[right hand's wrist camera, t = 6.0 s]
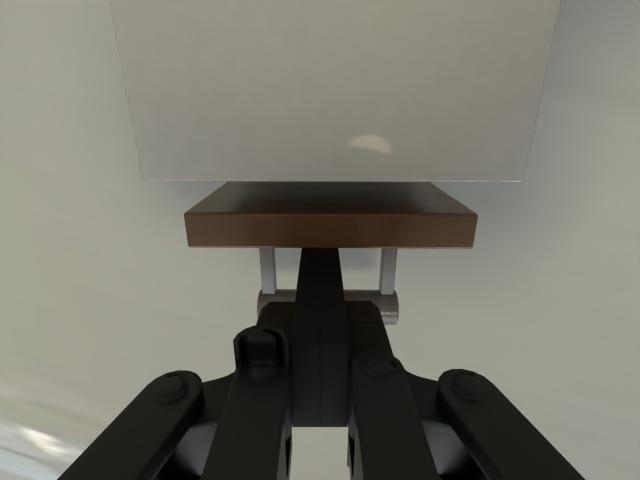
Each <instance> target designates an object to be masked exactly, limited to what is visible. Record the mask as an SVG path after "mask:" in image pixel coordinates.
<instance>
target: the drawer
mask: <svg viewBox="0 0 640 480" xmlns="http://www.w3.org/2000/svg"><path fill="white" fill-rule="evenodd" d="M477 218H478V216H477V214H476V213H475V212H473V211H472V210H470V209H469V208H467V207H466V206H464V205H463V204H461V203H460V202H458V201H457V200H455V199H454V198H452V197H451V196H449V195H448V194H446V193H445V192H443V191H442V190H440V189H439V188H437V187H436V186H435V185H433V184H432V183H430V182H315V181H228V182H227V183H225V184H224V185H223V186H221V187H220V188H218V189H217V190H216V191H214V192H213V193H212V194H210V195H209V196H207V197H206V198H205V199H203V200H202V201H201V202H199V203H198V204H196V205H195V206H194V207H192V208H191V209H190V210H188V211H187V212H185V213H184V219H185V226H186V233H187V240H188V246H189V247H246V248H260V263H261V278H262V289H261V290H260V292H259V296H258V303H257V316H258V317H259V314H260V311H261V309H262V308H263V307H264V306H265V305H266V304H267V303H268V302H269V301H295V298H296V290H297V289H276V288H277V285H276V264H275V248H382V251H381V266H380V281H379V290H344V298H345V300H371V301H372V302H373V303H374V304H375V305H376V306H377V307H378V308H379V309H380V313H381V316H382V320H383V323H384V325H395V324H397V321H398V315H399V305H398V297H397V293H396V291H395V290H394V281H395V269H396V257H397V248H459V249H470V248H472V247H473V242H474V236H475V230H476V224H477Z"/></svg>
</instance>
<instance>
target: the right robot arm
mask: <svg viewBox="0 0 640 480" xmlns="http://www.w3.org/2000/svg"><path fill="white" fill-rule="evenodd" d="M233 343H234V353H235V363H236V370H235V372H234V373H232V374H230V375H228V376H225V377H222V378H219V379H215V380H211V381H207V382H203V383H202V380H201V378H200V377H199V376H198V375H197V374H196V373H193V372H191V371H181V370H178V371H174V372H169V373H166V374H164V375H162V376H160V377H158V378H156V379H155V380H153V381H152V382H151V383H150V384H148V385H147V386H146V387H145V388H144V389H143V390H142V391H141V392H140V393H139V395H138V396H137V397H136V398H135V399H134V400H133V401H132V402H131V403H130V404H129V405H128V406H127V407H126V408H125V409H124V410H123V411H122V412H121V413H120V414H119V415H118V416H117V418H116V419H115V420H114V421H113V422H112V423H111V424H110V425H109V426H108V427H107V428H106V429H105V430H104V431H103V432H102V433H101V434H100V435H99V436H98V437H97V438H96V439H95V441H94V442H93V443H92V444H91V445H90V446H89V447H88V448H87V449H86V450H85V451H84V452H83V453H82V454H81V455H80V456H79V457H78V458H77V459H76V460H75V461H74V462H73V464H72V465H71V466H70V467H69V468H68V469H67V470H66V471H65V472H64V473H63V474H62V475H61V476H60V477H59V478H58V479H57V480H289V478H290V466H291V453H292V425H293V427H347V425H348V455H347V466H350V478H351V480H585V479H584V478H583V477H582V476H581V475H580V474H579V473H578V472H577V471H576V470H575V468H574V467H573V466H572V465H571V464H570V463H569V462H568V461H567V460H566V459H565V458H564V457H563V456H562V455H561V454H560V453H559V452H558V451H557V450H556V449H555V448H554V447H553V446H552V445H551V444H550V442H549V441H548V440H547V439H546V438H545V437H544V436H543V435H542V434H541V433H540V432H539V431H538V430H537V429H536V428H535V427H534V426H533V425H532V424H531V423H530V422H529V421H528V420H527V419H526V418H525V417H524V415H523V414H522V413H521V412H520V411H519V410H518V409H517V408H516V407H515V406H514V405H513V404H512V403H511V402H510V401H509V400H508V399H507V398H506V397H505V396H504V395H503V394H502V393H501V392H500V391H499V389H498V388H497V387H496V386H495V385H494V384H493V383H491V382H490V381H489V380H488V379H486V378H485V377H484V376H482V375H479V374H477V373H475V372H473V371H469V370H464V369H451V370H448V371H446V372H443V374H442V375H441V376H440V377H439V380H438V381H435V380H430V379H426V378H422V377H419V376H416V375H413V374H411V373H409V372H407V371H406V370H405V369H404V367H403V365H402V364H401V362H400V361H399V360H398V359H397V358H395V357H394V356H393V353H392V349H391V346H390V343H389V339H388V336H387V333H386V329H385V327H384V323H383V320H382V316H381V313H380V309H379V308H378V307H377V306H376V305H375V304H374V303H373V302H372V301H371V300H345V298H344V290H343V283H342V275H341V267H340V260H339V252H338V248H302V252H301V260H300V267H299V275H298V283H297V290H296V298H295V301H269V302H268V303H267V304H266V305H265V306H264V307H263V308H262V309H261V311H260V314H259V317H258V321H257V324H256V326H252V327H249V328H246V329H244V330H243V331H241V332H240V333H238V334H237V336H236V337H235V338H234V340H233Z"/></svg>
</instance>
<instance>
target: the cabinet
mask: <svg viewBox="0 0 640 480" xmlns="http://www.w3.org/2000/svg"><path fill="white" fill-rule="evenodd" d="M109 1H110V6H111V12H112V17H113V23H114V29H115V34H116V40H117V45H118V51H119V57H120V62H121V68H122V73H123V79H124V84H125V90H126V96H127V101H128V107H129V112H130V118H131V123H132V129H133V135H134V140H135V146H136V151H137V157H138V162H139V168H140V174H141V179H142V180H143V181H315V182H522V181H523V180H524V175H525V170H526V165H527V160H528V155H529V150H530V146H531V141H532V136H533V131H534V126H535V121H536V116H537V111H538V107H539V102H540V97H541V92H542V87H543V82H544V77H545V72H546V68H547V63H548V58H549V53H550V48H551V43H552V38H553V34H554V29H555V24H556V19H557V14H558V9H559V4H560V0H109Z"/></svg>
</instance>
